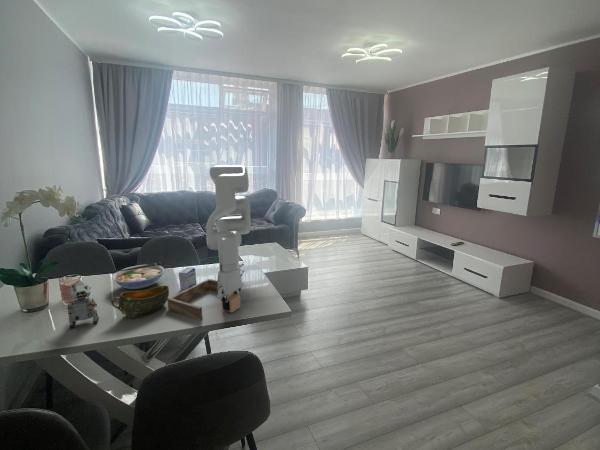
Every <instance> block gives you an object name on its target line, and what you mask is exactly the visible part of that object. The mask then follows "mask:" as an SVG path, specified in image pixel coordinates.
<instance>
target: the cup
mask: <svg viewBox="0 0 600 450" xmlns="http://www.w3.org/2000/svg"><path fill="white" fill-rule="evenodd" d="M169 293H170V288H169V285H159V286H155V287H152V288H147V289H146V288H145V289H139V290H132V291H131V290H130V291H123V292H121V293H120V295H119V296H115V297H112V298H111V301H110V304H111V306H112V307H113V308H115V309H117V310H118V311H120V312H121V313H122V315H125V316H126V317H127V318H129V319H140V318H143V317H146V316H150V315H151V314H154V313H157V312H158V311H160V310H162V309H163V308H164V306H165V305H166V303H167V299H168V298H169V295H170V294H169ZM116 300H118V306H116V304H115V302H116Z"/></svg>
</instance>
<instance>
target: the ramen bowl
mask: <svg viewBox="0 0 600 450" xmlns="http://www.w3.org/2000/svg"><path fill="white" fill-rule="evenodd" d="M161 265H162V266H161ZM163 265H165V261H160V262H155V263H151V264H140V265H139V264H138V265H134V266H129V267H126V268H123V269H119V270H115V271H109V272H108V273H109V274H112V273H114V274H112V276H111V278H112V279H113V280H114V281H115V283H117V285H119V286H120V287H122V288H125V289H129V290H130V289H131V290H144V289H146V288H148V287H150V286H152V285H154V284H155V283H156V282H158V281H159V280H160V279H161V278H162V275H163V274H164V272H165V268H164V267H163Z"/></svg>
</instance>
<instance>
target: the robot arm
mask: <svg viewBox="0 0 600 450" xmlns="http://www.w3.org/2000/svg"><path fill="white" fill-rule="evenodd" d="M209 177H210V178H211V181H213V184H214V186H215V187H214V188H215V205H216V206H215V210H213V212H212V213H211V214H210V216H209V217H208V220H207V222H206V227H205V228H206V229H205V230H206V231H205V233H206V237H205V238H206V239H205V240H206V245H207V248H208V249H209V250H212V251H218V261H219V262H218V264H219V265H218V266H219V270H218V273H217V279H216V280H217V290H218V292H217V295H216V298H217V299H218V300H220V301H222V302H223V310H222V311H225V310H227V311H226V312H228V311H229V310H230V305H229V302H228V299H229V295H230V294H231V293H235V294H239V295H240V296H241V293H240V292H241V289H242V287H243V284H244V283H243V282H242V278H241V276H242V275H243V270H242V269H241V268H243V267H244V266H245V263H244V262H241V263H240V262H239V261H240V259H239V257H240V256H239V248H240V246H241V244H242V235H247V234H250V232H251V229H252V219H251V204H250V203H251V202H250V200H249V197H247V196H243V195H240V196H239V195H238V196H236V194H242V193H247V192H248V190H249V187H250V182H249V180H250V179H249V174H248V169H247V167H246V166H245V165H241V164H232V165H230V164H223V165H222V164H219V165H213V166H211V167H210V168H209ZM215 223H216V230H217V231H214V225H215ZM225 296H226V298H224V297H225Z"/></svg>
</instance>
